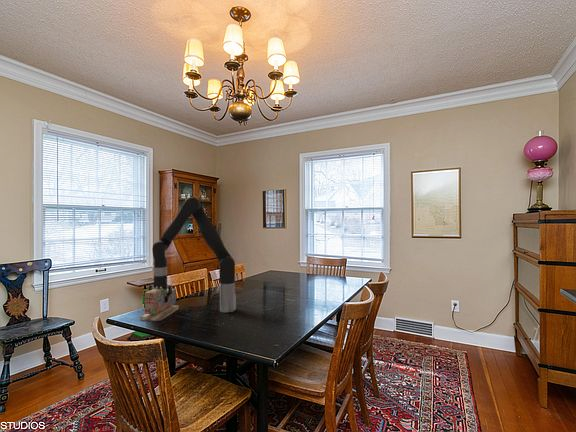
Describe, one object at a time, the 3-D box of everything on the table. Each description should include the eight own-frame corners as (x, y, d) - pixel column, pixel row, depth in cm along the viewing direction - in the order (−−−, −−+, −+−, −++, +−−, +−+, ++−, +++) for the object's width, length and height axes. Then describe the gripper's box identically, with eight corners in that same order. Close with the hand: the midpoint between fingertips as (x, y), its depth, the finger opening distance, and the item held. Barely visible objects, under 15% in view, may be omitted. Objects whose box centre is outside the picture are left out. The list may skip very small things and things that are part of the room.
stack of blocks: (167, 303, 189) (167, 283, 189) (176, 303, 188) (175, 284, 188) (144, 313, 168) (144, 292, 168) (154, 314, 167) (154, 292, 167)
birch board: (178, 308, 188) (178, 305, 188) (160, 320, 166) (160, 317, 166) (160, 308, 189) (160, 305, 189) (140, 320, 167) (140, 316, 167)
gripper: (175, 273, 181) (175, 300, 181) (152, 273, 182) (152, 300, 182) (168, 275, 173) (169, 304, 173) (145, 275, 175) (145, 304, 175)
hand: (160, 302), depth 178 cm, fingers closed on stack of blocks, 6 cm apart
